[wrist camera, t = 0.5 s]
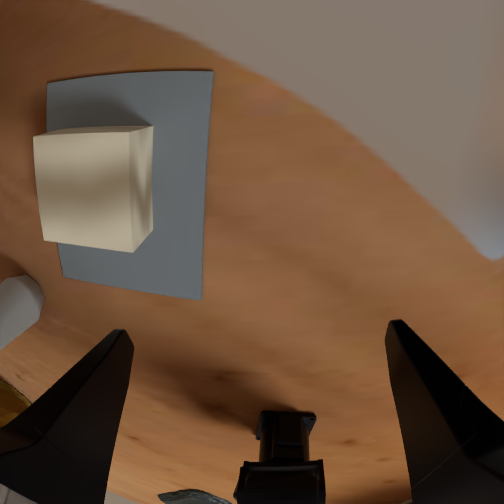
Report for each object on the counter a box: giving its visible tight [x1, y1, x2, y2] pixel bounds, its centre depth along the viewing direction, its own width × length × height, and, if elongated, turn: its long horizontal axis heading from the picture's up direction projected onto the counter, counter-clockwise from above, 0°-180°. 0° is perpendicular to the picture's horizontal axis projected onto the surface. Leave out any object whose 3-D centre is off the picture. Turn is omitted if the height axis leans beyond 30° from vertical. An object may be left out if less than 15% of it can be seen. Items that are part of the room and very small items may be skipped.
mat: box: [46, 71, 214, 301], centre depth 23 cm, size 18×14×1 cm
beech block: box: [33, 126, 153, 253], centre depth 21 cm, size 8×8×4 cm
